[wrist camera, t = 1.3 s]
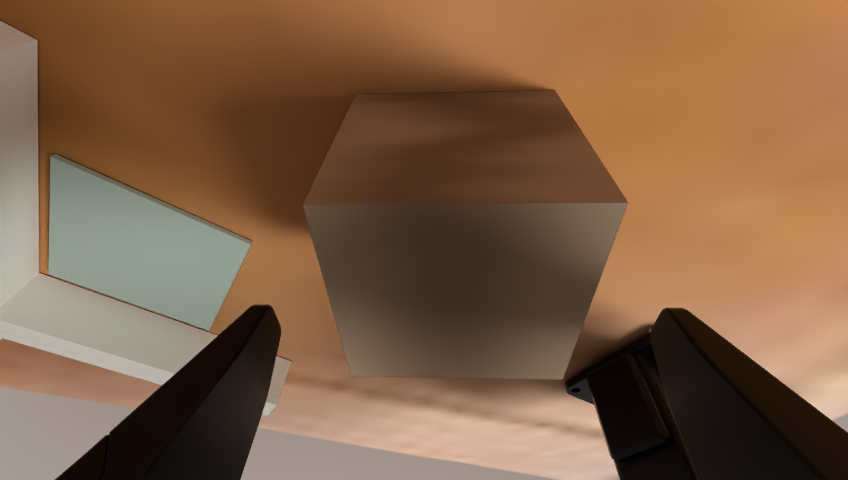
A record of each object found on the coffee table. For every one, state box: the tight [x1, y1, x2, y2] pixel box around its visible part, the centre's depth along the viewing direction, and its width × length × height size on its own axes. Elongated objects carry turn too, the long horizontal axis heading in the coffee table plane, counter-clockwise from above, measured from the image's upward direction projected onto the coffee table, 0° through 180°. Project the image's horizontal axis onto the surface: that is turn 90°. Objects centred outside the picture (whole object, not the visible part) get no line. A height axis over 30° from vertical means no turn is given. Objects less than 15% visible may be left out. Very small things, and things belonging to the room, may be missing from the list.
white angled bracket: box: [0, 21, 291, 416], centre depth 16 cm, size 14×14×2 cm
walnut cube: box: [303, 90, 628, 380], centre depth 11 cm, size 6×6×6 cm
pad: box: [49, 154, 252, 330], centre depth 16 cm, size 7×7×1 cm
